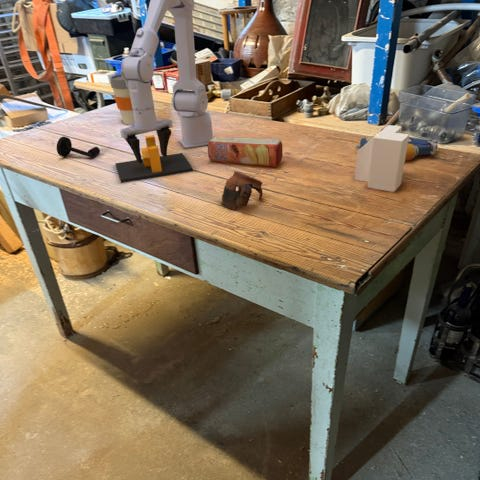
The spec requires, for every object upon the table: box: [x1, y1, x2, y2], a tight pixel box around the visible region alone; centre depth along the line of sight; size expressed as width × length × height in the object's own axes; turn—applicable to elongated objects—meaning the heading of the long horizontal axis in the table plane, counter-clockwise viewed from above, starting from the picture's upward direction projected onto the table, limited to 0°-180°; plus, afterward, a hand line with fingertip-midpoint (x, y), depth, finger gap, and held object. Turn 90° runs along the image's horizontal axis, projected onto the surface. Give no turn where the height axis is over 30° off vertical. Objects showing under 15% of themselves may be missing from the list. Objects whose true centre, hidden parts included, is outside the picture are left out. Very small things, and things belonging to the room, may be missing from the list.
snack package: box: [207, 136, 284, 168], centre depth 133 cm, size 21×7×7 cm, turn 67°
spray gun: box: [355, 135, 439, 162], centre depth 133 cm, size 21×4×15 cm
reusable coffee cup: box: [109, 73, 135, 126], centre depth 170 cm, size 13×13×15 cm
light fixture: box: [56, 136, 101, 159], centre depth 147 cm, size 6×11×13 cm
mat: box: [115, 152, 194, 183], centre depth 135 cm, size 20×14×1 cm
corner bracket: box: [354, 124, 410, 193], centre depth 116 cm, size 11×11×12 cm
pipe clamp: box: [140, 134, 162, 173], centre depth 133 cm, size 12×4×6 cm, turn 14°
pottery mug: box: [221, 170, 263, 211], centre depth 111 cm, size 12×10×8 cm
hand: (151, 158), depth 133 cm, fingers open, 7 cm apart
